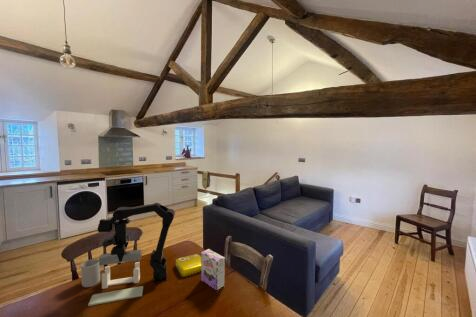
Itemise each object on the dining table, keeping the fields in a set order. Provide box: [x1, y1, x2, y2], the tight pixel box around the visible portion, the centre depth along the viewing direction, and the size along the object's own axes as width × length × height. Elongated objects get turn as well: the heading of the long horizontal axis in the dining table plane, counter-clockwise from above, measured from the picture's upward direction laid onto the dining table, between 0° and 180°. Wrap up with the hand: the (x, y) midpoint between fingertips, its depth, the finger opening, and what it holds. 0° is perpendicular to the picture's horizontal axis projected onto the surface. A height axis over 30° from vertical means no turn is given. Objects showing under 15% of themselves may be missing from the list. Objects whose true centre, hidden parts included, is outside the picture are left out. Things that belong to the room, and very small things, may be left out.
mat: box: [87, 285, 144, 307], centre depth 110 cm, size 23×7×1 cm, turn 108°
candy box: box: [200, 248, 226, 291], centre depth 121 cm, size 14×6×16 cm, turn 46°
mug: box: [80, 258, 103, 288], centre depth 122 cm, size 12×8×11 cm
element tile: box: [175, 253, 201, 278], centre depth 136 cm, size 15×15×5 cm
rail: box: [98, 248, 142, 266], centre depth 121 cm, size 20×4×4 cm, turn 108°
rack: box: [101, 261, 141, 290], centre depth 121 cm, size 18×7×8 cm, turn 108°
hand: (121, 259), depth 121 cm, fingers closed on rail, 4 cm apart
